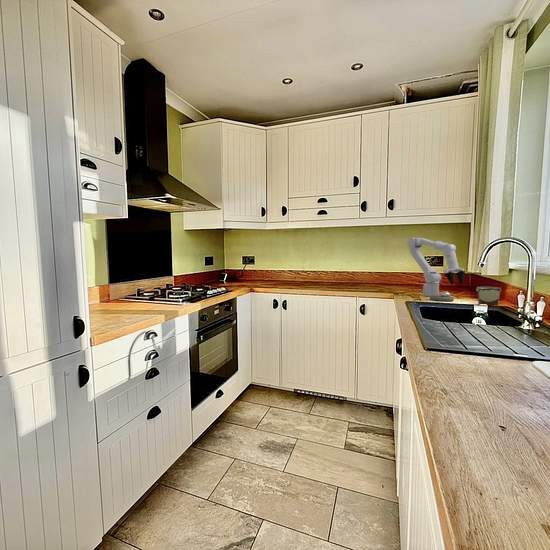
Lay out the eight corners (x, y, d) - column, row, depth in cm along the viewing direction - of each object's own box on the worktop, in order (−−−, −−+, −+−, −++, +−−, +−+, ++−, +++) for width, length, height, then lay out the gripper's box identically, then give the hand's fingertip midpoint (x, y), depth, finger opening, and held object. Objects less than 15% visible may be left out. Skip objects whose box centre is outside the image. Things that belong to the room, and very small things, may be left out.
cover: (438, 296, 190) (438, 291, 190) (444, 295, 192) (445, 290, 192) (445, 297, 185) (445, 292, 185) (452, 296, 187) (452, 291, 187)
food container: (493, 303, 171) (494, 286, 171) (500, 305, 165) (501, 287, 165) (471, 303, 173) (471, 286, 172) (477, 305, 167) (477, 287, 166)
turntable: (424, 298, 192) (425, 296, 192) (440, 297, 196) (440, 294, 196) (442, 301, 179) (442, 298, 179) (458, 300, 184) (458, 297, 184)
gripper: (449, 261, 185) (454, 283, 183) (466, 260, 190) (471, 281, 188) (439, 264, 192) (444, 285, 190) (456, 263, 197) (461, 283, 194)
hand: (457, 283), depth 189 cm, fingers open, 7 cm apart
